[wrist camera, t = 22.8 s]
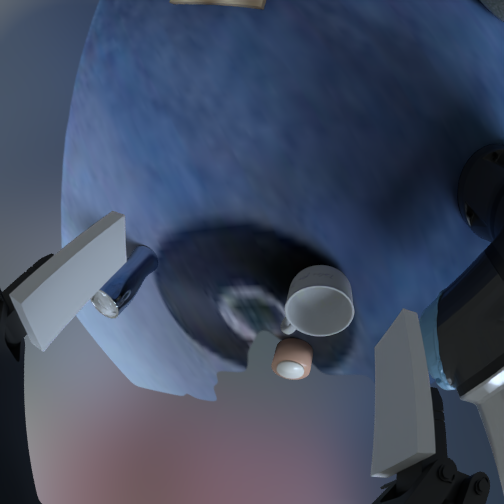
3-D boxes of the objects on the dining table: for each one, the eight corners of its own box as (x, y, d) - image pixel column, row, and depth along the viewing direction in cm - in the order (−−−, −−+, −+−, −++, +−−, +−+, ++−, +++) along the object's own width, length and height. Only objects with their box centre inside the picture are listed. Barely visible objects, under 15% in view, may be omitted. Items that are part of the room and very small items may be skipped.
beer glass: (129, 241, 57) (83, 284, 45) (157, 245, 55) (112, 292, 43) (136, 269, 61) (95, 314, 48) (163, 274, 59) (124, 323, 47)
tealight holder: (318, 345, 58) (315, 366, 54) (305, 365, 63) (301, 385, 58) (282, 333, 59) (276, 354, 54) (272, 355, 63) (266, 374, 59)
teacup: (333, 245, 46) (331, 274, 39) (364, 292, 49) (365, 324, 42) (265, 280, 53) (254, 310, 46) (299, 320, 56) (292, 351, 49)
